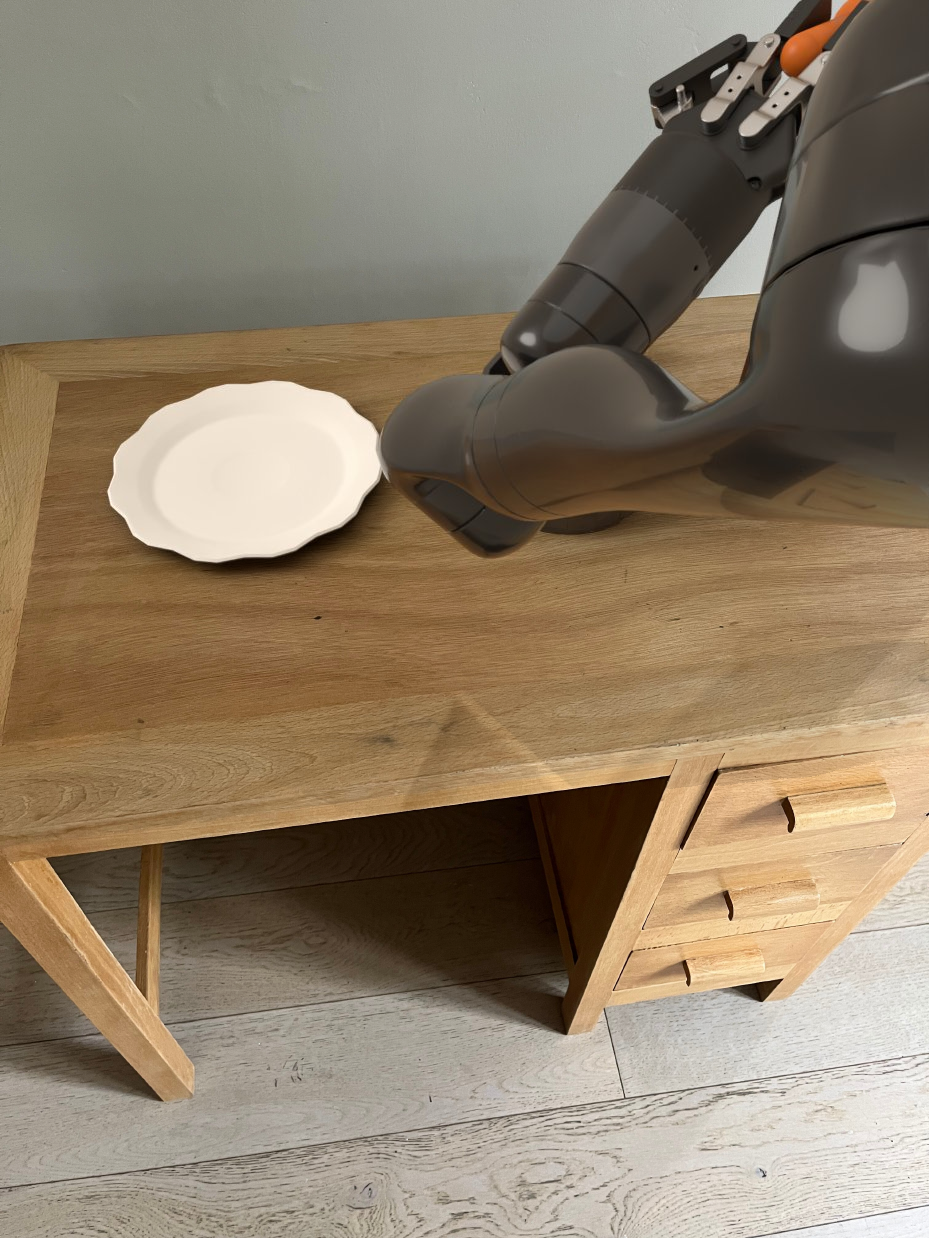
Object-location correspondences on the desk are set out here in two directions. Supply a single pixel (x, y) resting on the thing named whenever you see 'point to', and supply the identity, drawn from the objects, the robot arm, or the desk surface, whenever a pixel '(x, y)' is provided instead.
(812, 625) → the desk surface
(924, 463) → the robot arm
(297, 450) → the plate
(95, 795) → the desk surface
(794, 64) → the carrot
